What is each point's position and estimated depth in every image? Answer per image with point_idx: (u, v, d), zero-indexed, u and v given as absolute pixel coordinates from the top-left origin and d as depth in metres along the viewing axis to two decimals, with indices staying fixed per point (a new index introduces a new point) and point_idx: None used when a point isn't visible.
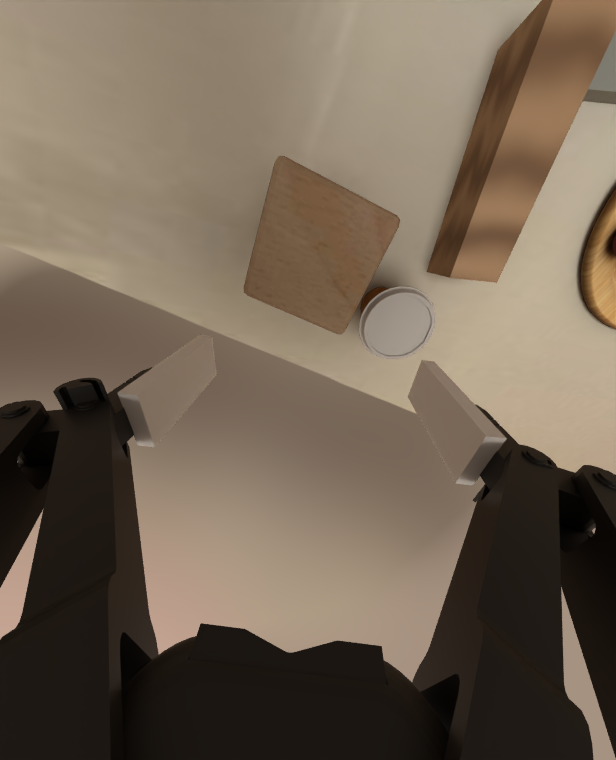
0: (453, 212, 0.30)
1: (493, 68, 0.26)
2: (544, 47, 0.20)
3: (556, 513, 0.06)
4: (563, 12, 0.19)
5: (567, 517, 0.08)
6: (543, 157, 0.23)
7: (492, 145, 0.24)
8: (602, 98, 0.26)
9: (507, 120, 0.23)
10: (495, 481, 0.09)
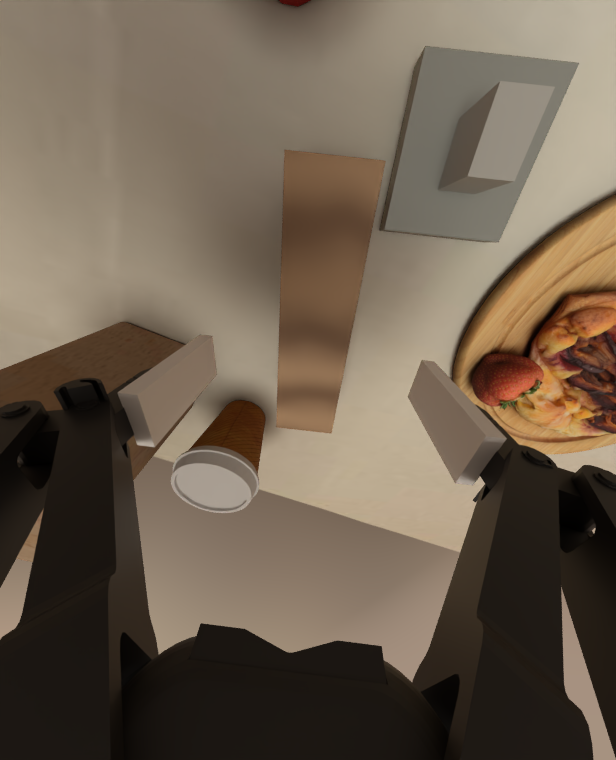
0: None
1: None
2: (294, 220, 0.15)
3: (556, 513, 0.06)
4: (302, 186, 0.14)
5: (567, 517, 0.08)
6: (337, 326, 0.19)
7: None
8: (432, 235, 0.21)
9: None
10: (495, 481, 0.09)
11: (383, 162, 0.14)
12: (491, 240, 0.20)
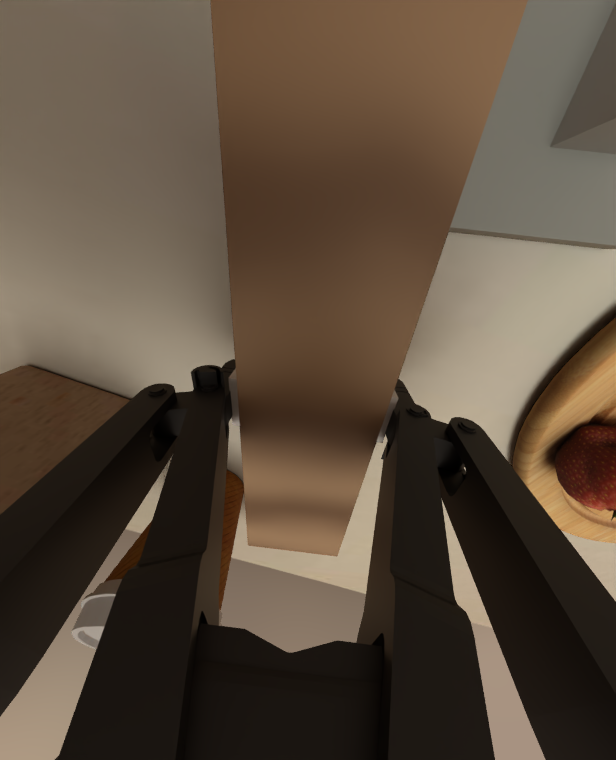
0: None
1: None
2: (253, 196, 0.06)
3: (434, 453, 0.08)
4: (270, 94, 0.05)
5: (440, 459, 0.09)
6: (354, 417, 0.09)
7: None
8: (516, 237, 0.12)
9: (236, 349, 0.08)
10: (393, 438, 0.10)
11: (521, 3, 0.04)
12: None
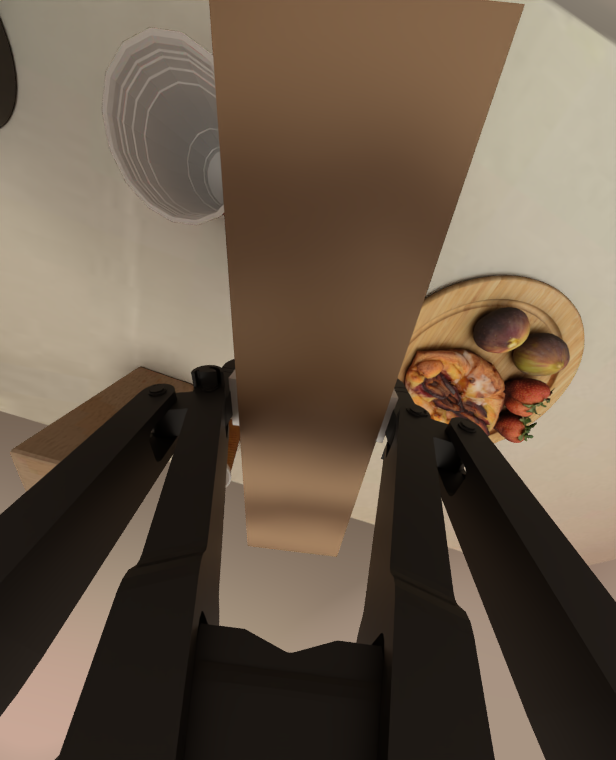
0: None
1: None
2: (252, 200, 0.06)
3: (433, 453, 0.08)
4: (269, 100, 0.05)
5: (440, 459, 0.09)
6: (353, 419, 0.09)
7: None
8: None
9: (236, 351, 0.09)
10: (393, 438, 0.10)
11: (516, 11, 0.04)
12: None
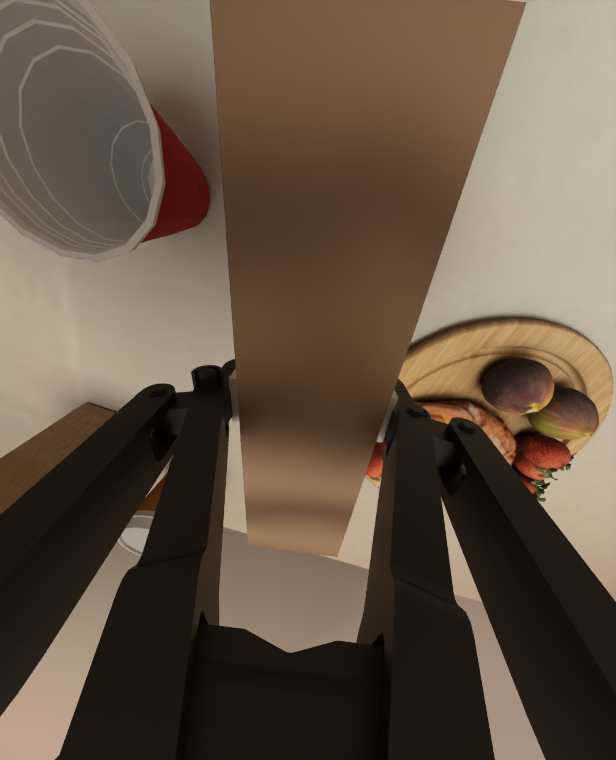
0: None
1: None
2: (252, 199, 0.06)
3: (433, 453, 0.08)
4: (269, 98, 0.05)
5: (440, 459, 0.09)
6: (354, 418, 0.09)
7: None
8: None
9: (236, 351, 0.08)
10: (393, 438, 0.10)
11: (518, 9, 0.04)
12: None
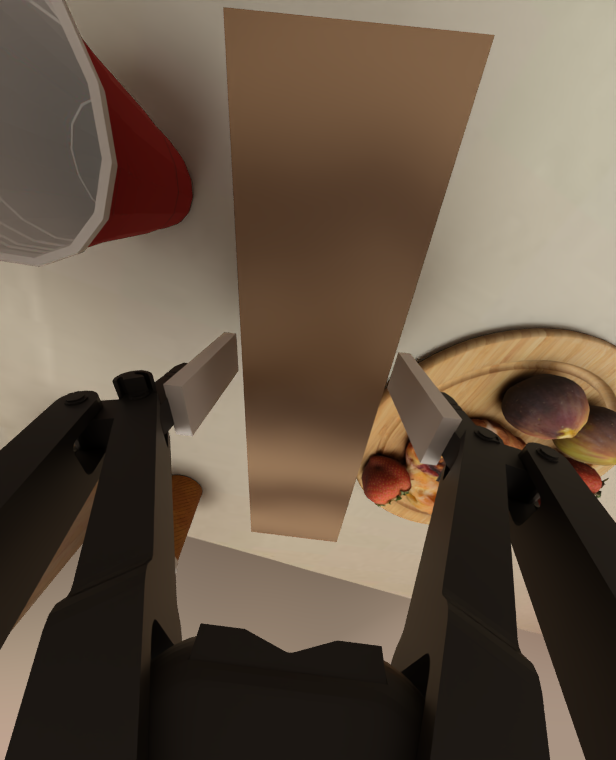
0: None
1: None
2: (259, 202, 0.07)
3: (504, 484, 0.07)
4: (275, 115, 0.06)
5: (513, 489, 0.08)
6: (351, 404, 0.10)
7: None
8: None
9: (242, 340, 0.09)
10: (453, 461, 0.09)
11: (487, 40, 0.05)
12: None
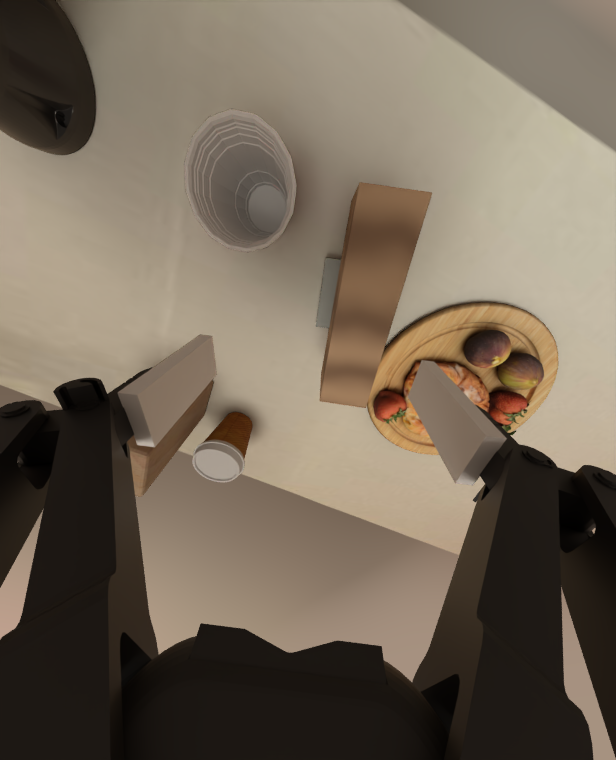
0: (329, 333, 0.31)
1: (349, 215, 0.26)
2: (359, 232, 0.21)
3: (556, 513, 0.06)
4: (369, 207, 0.20)
5: (568, 517, 0.08)
6: (382, 315, 0.24)
7: (337, 297, 0.25)
8: None
9: (341, 284, 0.23)
10: (495, 481, 0.09)
11: (430, 193, 0.19)
12: None
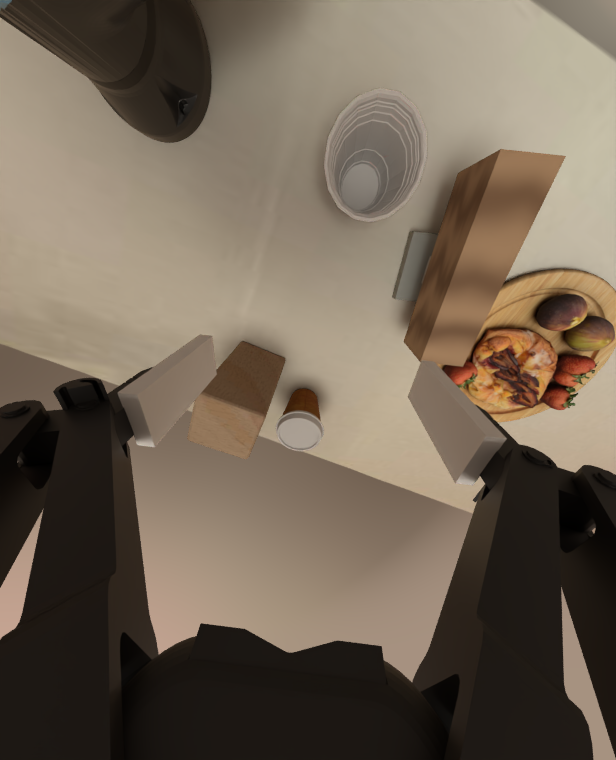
0: (424, 300, 0.33)
1: (455, 186, 0.29)
2: (491, 196, 0.23)
3: (556, 513, 0.06)
4: (504, 172, 0.22)
5: (568, 517, 0.08)
6: (496, 274, 0.27)
7: (452, 261, 0.27)
8: None
9: (463, 246, 0.26)
10: (495, 481, 0.09)
11: (563, 157, 0.21)
12: None
